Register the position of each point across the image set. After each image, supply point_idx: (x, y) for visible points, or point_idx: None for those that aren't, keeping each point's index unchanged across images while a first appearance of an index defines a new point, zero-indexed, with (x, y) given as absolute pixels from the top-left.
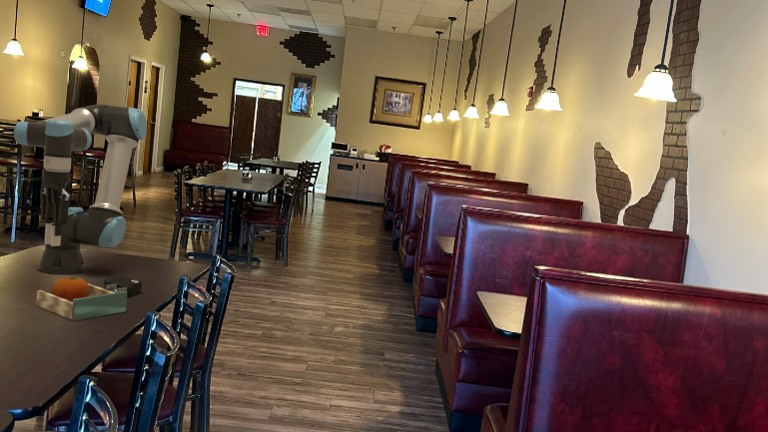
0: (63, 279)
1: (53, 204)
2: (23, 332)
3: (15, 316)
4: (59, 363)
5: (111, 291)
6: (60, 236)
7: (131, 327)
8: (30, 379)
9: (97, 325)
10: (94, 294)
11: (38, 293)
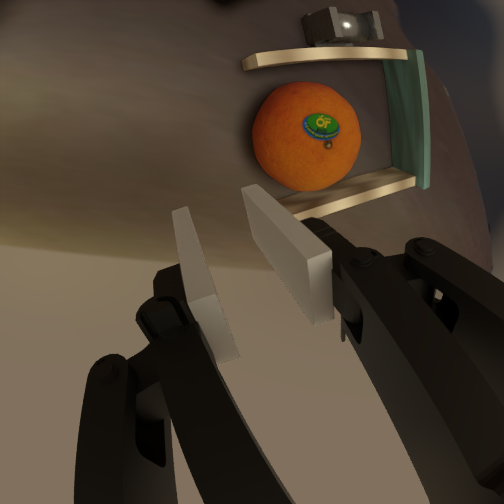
0: (326, 168)
1: (430, 497)
2: None
3: None
4: (473, 240)
5: (348, 38)
6: (280, 206)
7: (452, 108)
8: None
9: None
10: (298, 62)
11: None
